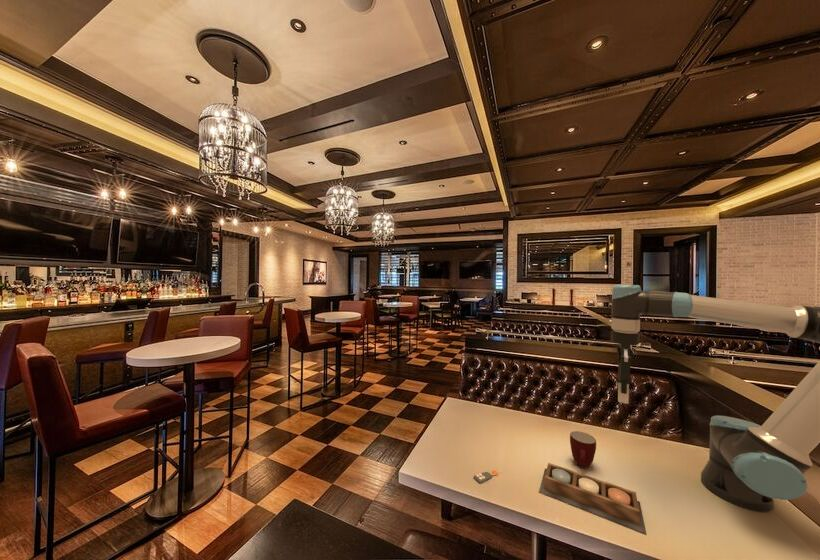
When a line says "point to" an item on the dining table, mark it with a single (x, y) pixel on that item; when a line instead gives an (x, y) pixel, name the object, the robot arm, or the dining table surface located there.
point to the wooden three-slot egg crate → (594, 499)
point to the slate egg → (561, 475)
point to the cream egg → (589, 485)
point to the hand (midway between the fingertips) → (623, 401)
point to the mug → (582, 448)
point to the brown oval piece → (619, 496)
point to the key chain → (485, 476)
